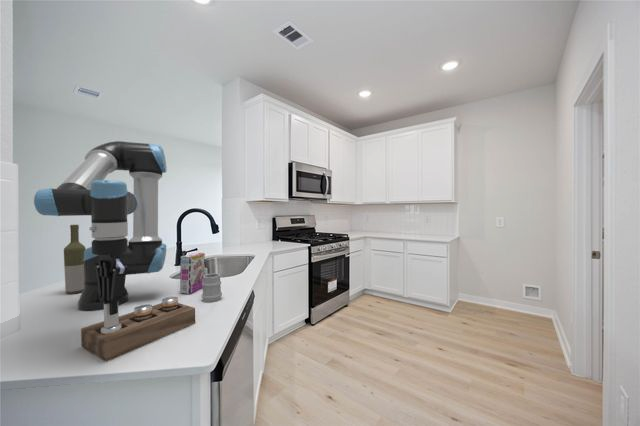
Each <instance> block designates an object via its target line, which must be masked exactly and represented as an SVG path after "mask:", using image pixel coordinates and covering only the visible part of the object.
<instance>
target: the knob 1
mask: <svg viewBox="0 0 640 426" xmlns="http://www.w3.org/2000/svg"><path fill="white" fill-rule="evenodd" d="M120 329H122V324H121V323H119V324H117V325H114V326H111V327H108V328H106V327H104V326H103V327H102V328H101V334H103V335H106V334H108V333H111V332H114V331H117V330H120Z"/></svg>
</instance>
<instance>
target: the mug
mask: <svg viewBox="0 0 640 426" xmlns="http://www.w3.org/2000/svg"><path fill="white" fill-rule="evenodd" d="M202 280H203V281H202V288H201V289H202V294H201V299H202V301H203V302H205V303H213V302H217V301H219V300H221V299H222V295H223V293H222V289H221V284H222V281H221V274H220V273H209V272H208V268H207V267H204V273H203V279H202Z"/></svg>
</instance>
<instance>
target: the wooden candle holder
mask: <svg viewBox="0 0 640 426" xmlns="http://www.w3.org/2000/svg"><path fill="white" fill-rule="evenodd" d="M152 312H153V313H152V318H151V319H148V320H145V321H142V322H139V323H137V322H135V321H134V311H132V312H128V313H126V314H122V315H119V323H121V324H122V329H120V330H117V331H114V332H111V333H108V334H106V335H103V334H101V328H102V327H103V326H104V320H103V321H100V322H98V323H94V324H91V325H88V326H85V327H82V328H81V329H80V331H81V332H80V333H81V335H80V337H81V345H80V346H81V348H83V349H84V350H87V351H88V353H91V354H92V355H95V356H96V357H97V358H100V359H101V360H103V361H104V362H109V361H111V360H114V359H115V358H117V357H120V356H122V355H125V354H127V353H130V352H132V351H134V350H137V349H139V348H141V347H144V346H146V345H147V344H150V343H153V342H155V341H157V340H160V339H162V338H164V337H166V336H169V335H171V334H174V333H176V332H177V331H178V332H179V331H180V330H183V329H185V328H188V327H189V326H192V325H194V324H196V307H193V306H189V305H186V304H183V303H181V302H178V309H176V310H173V311H170V312H168V313H166V312H163V311H162V302H161V303H157V304H153V305H152Z"/></svg>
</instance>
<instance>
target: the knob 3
mask: <svg viewBox="0 0 640 426" xmlns="http://www.w3.org/2000/svg"><path fill="white" fill-rule="evenodd" d="M161 303H162V311H163V312H166V313H168V312H170V311H173V310H176V309H178V303H179V298H178V296H168V297H164V298H162V299H161Z"/></svg>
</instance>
